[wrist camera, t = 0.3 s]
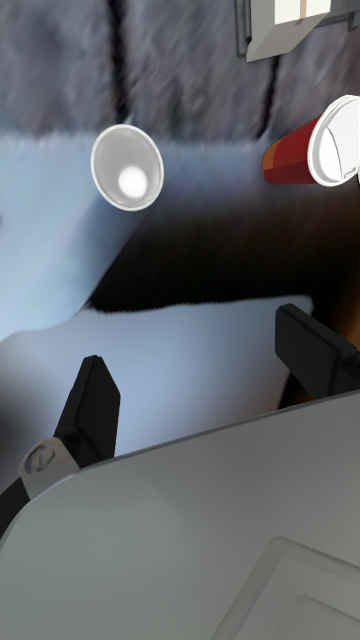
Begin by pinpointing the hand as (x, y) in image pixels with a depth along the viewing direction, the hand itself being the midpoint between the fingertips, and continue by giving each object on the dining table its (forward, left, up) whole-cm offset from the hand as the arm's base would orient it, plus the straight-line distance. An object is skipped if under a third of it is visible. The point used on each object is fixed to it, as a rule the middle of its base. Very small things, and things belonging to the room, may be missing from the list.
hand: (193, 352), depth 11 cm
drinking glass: (-10, -1, -31) cm, 32 cm away
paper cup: (-8, +22, -31) cm, 39 cm away
